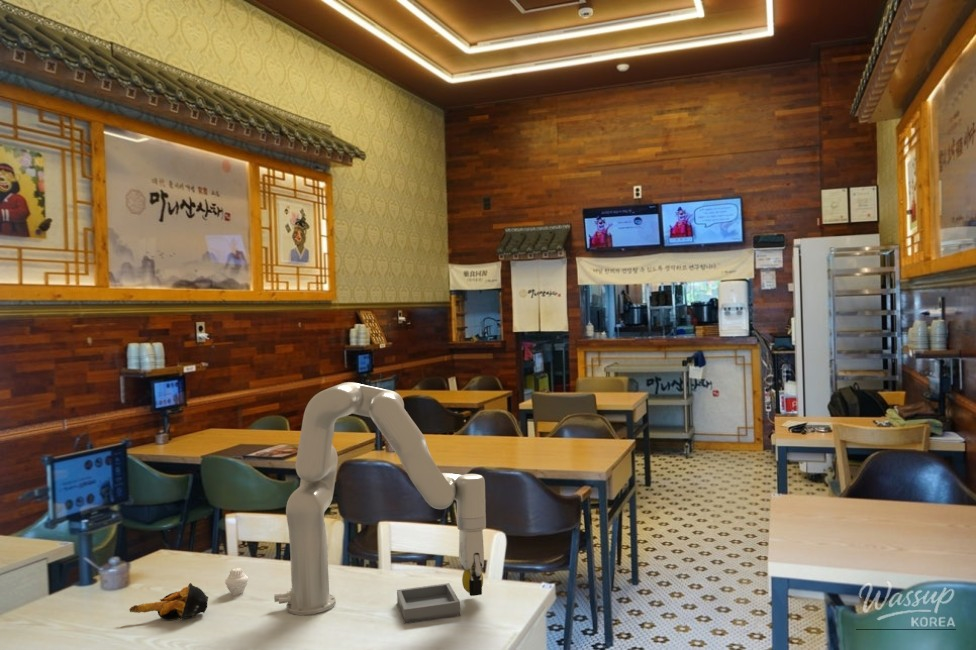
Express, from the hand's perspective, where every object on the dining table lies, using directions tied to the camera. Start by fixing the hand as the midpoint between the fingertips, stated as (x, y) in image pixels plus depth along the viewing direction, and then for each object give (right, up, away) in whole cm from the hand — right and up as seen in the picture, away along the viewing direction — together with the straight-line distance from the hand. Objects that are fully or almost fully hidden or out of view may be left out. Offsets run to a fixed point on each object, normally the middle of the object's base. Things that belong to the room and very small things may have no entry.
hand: (472, 590), depth 194 cm
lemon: (0, -1, 0) cm, 1 cm away
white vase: (-66, -6, +13) cm, 68 cm away
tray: (-11, -3, -5) cm, 13 cm away
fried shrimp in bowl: (-78, -6, -3) cm, 78 cm away
